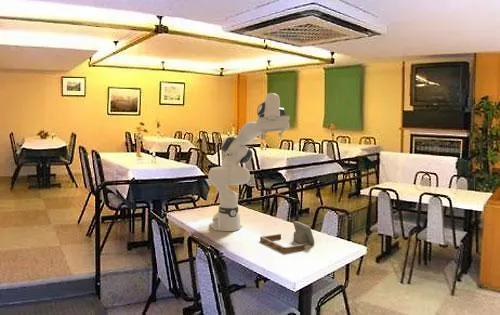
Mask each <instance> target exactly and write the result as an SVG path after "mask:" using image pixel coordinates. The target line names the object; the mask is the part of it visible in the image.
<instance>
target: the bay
mask: <svg viewBox="0 0 500 315" xmlns="http://www.w3.org/2000/svg"><path fill="white" fill-rule="evenodd" d="M259 238H260V242H261V243H263V244H265V245H266V246H269V247H272V248H273V249H276V250H278V251H280V252H282V253H283V254H286V253H293V252H297V251H302V250H303V251H304V250H305V249H306V244H298V245H297V244H295V245H291V246H283V245H281V244H279V243H277V242H276V240H281V239H282V234H281V233H277V234H271V235H270V234H269V235H264V236H259ZM273 240H274V241H273Z"/></svg>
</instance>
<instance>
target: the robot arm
mask: <svg viewBox="0 0 500 315" xmlns="http://www.w3.org/2000/svg"><path fill="white" fill-rule="evenodd" d="M280 99H281V98H280V96H279V94H277V93H274V92H268V93H267V94H266V96H265V100H264V102H262V103H260V104H259V105H258V107H257V109H256V110H257V112H256V114H257V120H256V121H248V122H246V123H245V124H244V125H243V126H242V127H241V128H240V129H239V131H238V134H237V135H236V137H235V135H232V136H227V137H226V138H225V139H224V140H223V141H222V142H221V143H222V144H221V148H220V149H221V150H222V151H223V153H226V154H228V155H227V156H225V157H224V158H223V160H222V162H221V166H214V167H211V168H210V170H208V174H207V177H208V180H209V182H210V183H211V184H212V185H213V186H214V187H215V188H216V189H217V192H218V195H219V206H218V212H217V213H216V214H214V215H213V217H212V222H209V226H210V227H211V228H212V229H213V230H214V231H218V232H219V231H221V232H235V231H239V230H240V229H241V228H243V225H242V224H241V214H240V213H239V206H238V204H239V203H238V202H239V200H238V199H239V198H238V197H239V196H238V193H237V192H236V191H234V190H233V189H231V188H230V187H229V185H230V186H231V185H232V186H234V185H235V186H236V185H237V186H240V185H245V184H247V183H249V181H250V178H251V174H250V171H249V169H248V168H245V167H242V166H240V165H242V164H246V163H248V162H249V161H250V160H251V159H252V156H253V151H252V149H250V148H249V147H248V146H246V145H248V144H249V143H251V142H252V141H254V140H255V138H257V137H259V136H260V135H262V137H263V139H267V135H266V133H268V132H269V133H270V132H278V137H280V138H281V137H283V133H284V131H287V130H289V129H290V120H291V117H290V115H287V112H286V110H285V108H284V107H281V100H280ZM279 131H280V132H279ZM239 164H240V165H239Z"/></svg>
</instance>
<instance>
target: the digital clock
mask: <svg viewBox="0 0 500 315" xmlns="http://www.w3.org/2000/svg"><path fill="white" fill-rule="evenodd" d="M292 223H293V227H294V229H295V231H294V232H293V241H295V242H296V243H298V244H299V245H301V244H304V245H309V244H310V245H314V244H315V238H314V236H313V235H314V234H313V231H312V229H311V226H309V225H307V224H304V223H302V222H300V221H297V220H294V221H293V222H292ZM308 243H309V244H308Z"/></svg>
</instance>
